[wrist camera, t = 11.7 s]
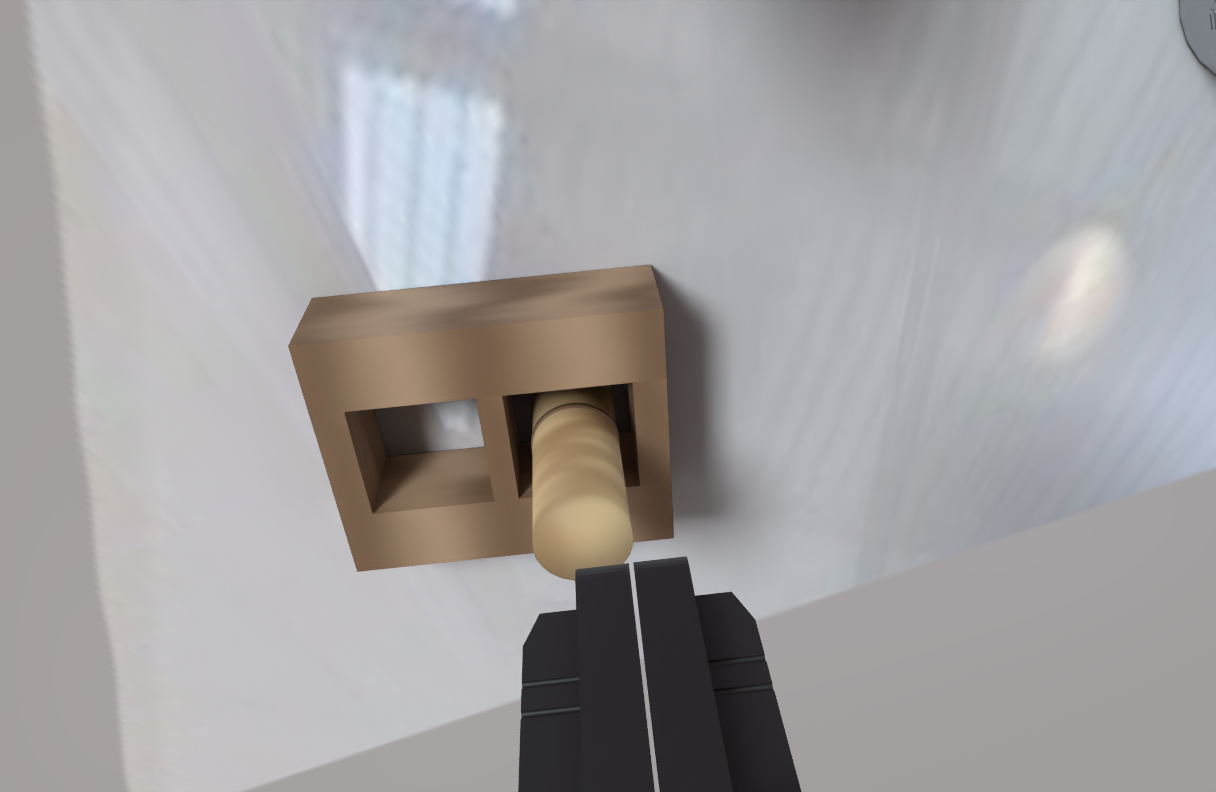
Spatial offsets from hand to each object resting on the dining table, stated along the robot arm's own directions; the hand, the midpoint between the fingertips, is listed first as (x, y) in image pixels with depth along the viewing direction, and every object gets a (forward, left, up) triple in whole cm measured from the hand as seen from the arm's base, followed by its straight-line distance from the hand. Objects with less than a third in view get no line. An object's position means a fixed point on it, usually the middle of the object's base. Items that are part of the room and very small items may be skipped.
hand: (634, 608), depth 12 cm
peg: (+1, +11, -24) cm, 26 cm away
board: (+4, +11, -24) cm, 27 cm away
